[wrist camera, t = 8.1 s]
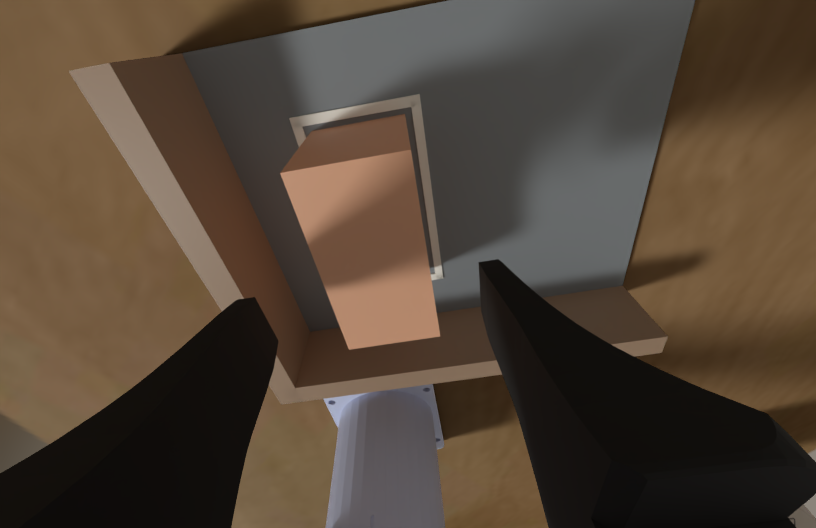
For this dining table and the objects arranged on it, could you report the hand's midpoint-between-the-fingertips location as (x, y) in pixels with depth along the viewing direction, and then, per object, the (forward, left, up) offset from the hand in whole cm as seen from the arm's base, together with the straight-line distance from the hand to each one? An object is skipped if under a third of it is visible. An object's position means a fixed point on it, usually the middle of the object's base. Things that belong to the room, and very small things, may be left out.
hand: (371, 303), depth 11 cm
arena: (0, -3, -7) cm, 8 cm away
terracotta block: (0, 0, -7) cm, 7 cm away
